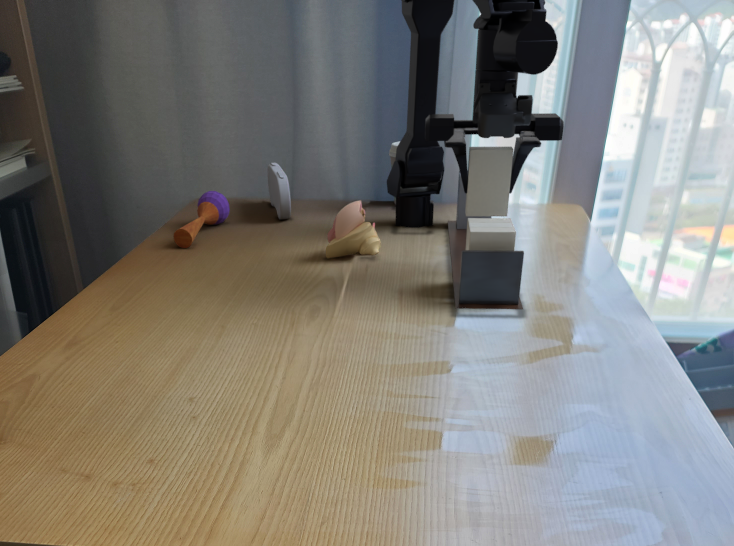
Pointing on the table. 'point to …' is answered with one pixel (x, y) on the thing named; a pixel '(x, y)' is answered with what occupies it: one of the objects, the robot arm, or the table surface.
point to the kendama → (203, 217)
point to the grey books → (463, 207)
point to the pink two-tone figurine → (352, 233)
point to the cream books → (490, 234)
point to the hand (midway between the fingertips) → (487, 193)
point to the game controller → (279, 191)
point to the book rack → (484, 275)
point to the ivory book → (488, 181)
